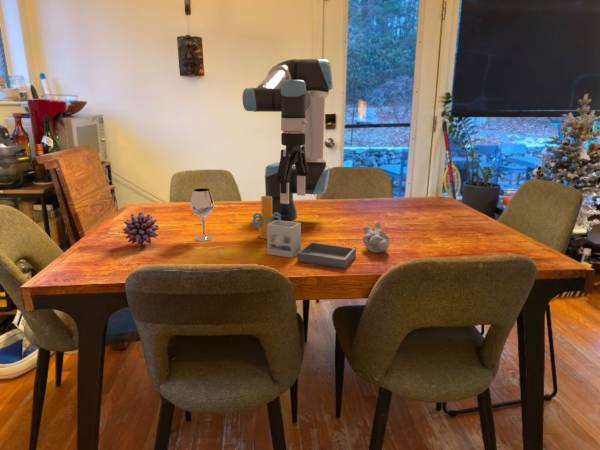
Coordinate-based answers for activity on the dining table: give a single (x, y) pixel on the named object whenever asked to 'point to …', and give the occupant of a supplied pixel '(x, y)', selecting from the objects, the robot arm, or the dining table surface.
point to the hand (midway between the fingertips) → (293, 199)
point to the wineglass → (202, 208)
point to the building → (289, 232)
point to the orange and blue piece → (265, 216)
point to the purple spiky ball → (140, 228)
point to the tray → (326, 255)
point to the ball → (279, 240)
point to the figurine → (375, 239)
